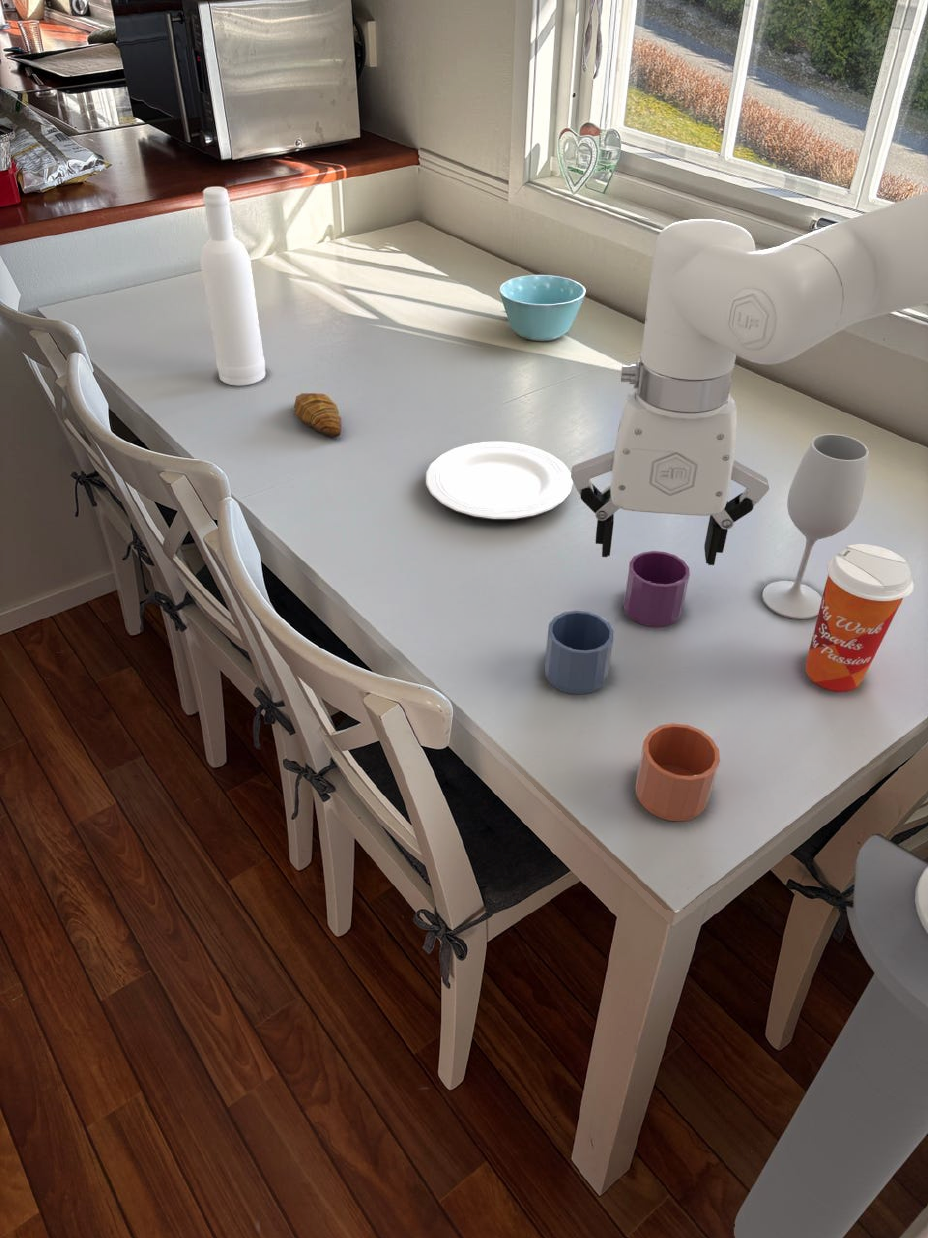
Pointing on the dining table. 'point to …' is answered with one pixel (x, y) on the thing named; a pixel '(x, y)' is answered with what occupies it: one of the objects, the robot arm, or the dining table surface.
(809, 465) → the wineglass
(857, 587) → the coffee cup
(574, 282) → the bowl
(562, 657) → the blue faceted cup
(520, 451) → the plate
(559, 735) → the dining table surface
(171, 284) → the dining table surface
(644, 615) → the plum cup
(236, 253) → the bottle
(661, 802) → the terracotta cup
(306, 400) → the croissant
